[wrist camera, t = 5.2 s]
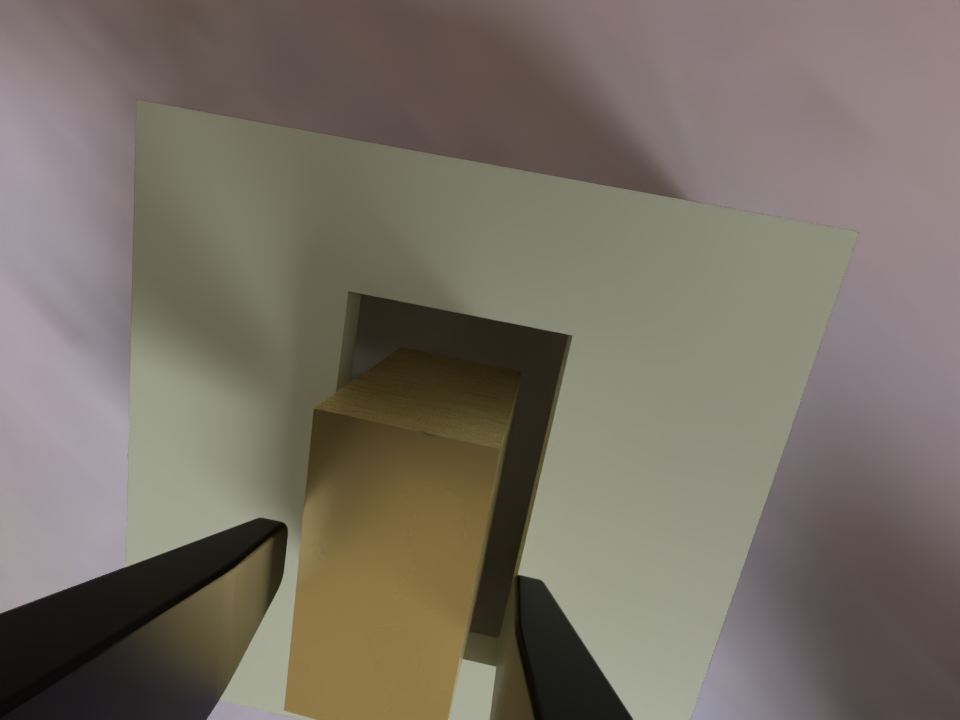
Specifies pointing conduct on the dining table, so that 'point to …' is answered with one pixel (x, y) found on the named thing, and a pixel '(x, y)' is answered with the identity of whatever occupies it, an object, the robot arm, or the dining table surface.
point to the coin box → (478, 338)
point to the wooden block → (396, 536)
